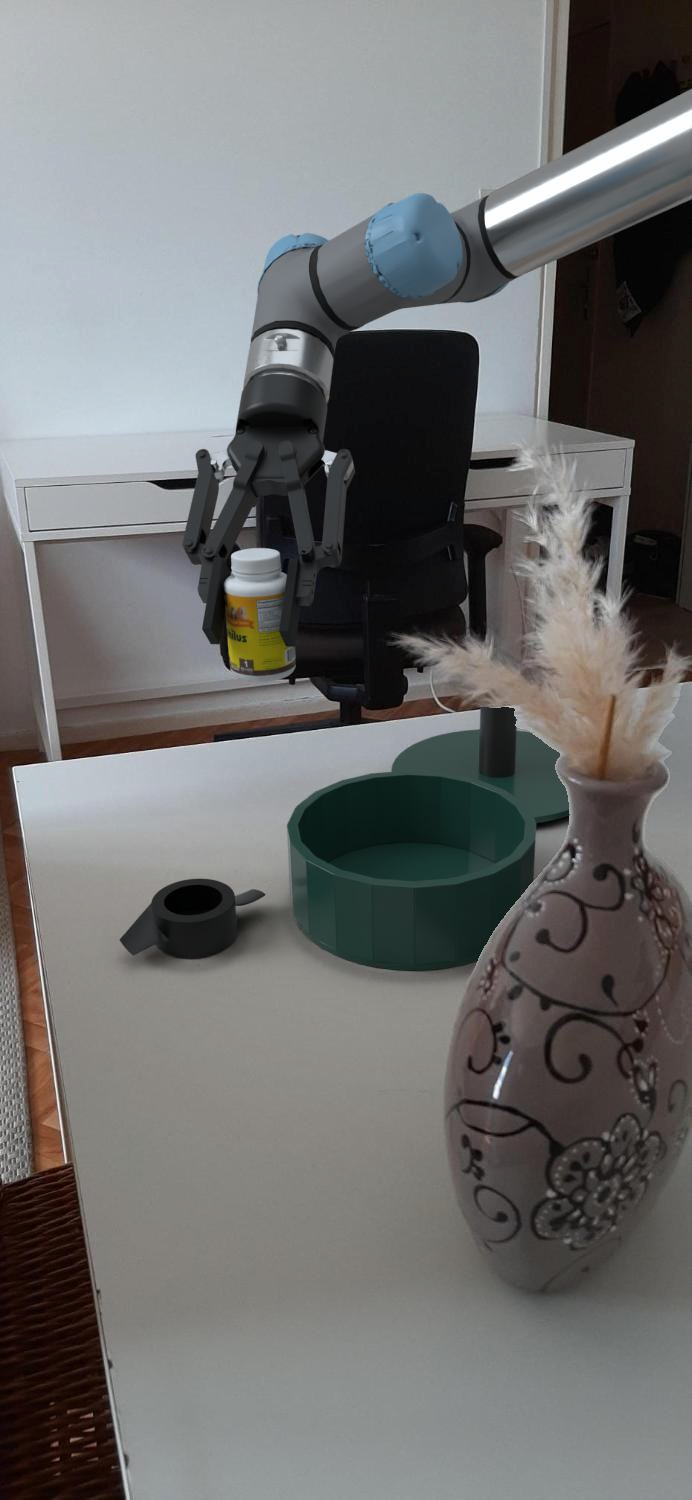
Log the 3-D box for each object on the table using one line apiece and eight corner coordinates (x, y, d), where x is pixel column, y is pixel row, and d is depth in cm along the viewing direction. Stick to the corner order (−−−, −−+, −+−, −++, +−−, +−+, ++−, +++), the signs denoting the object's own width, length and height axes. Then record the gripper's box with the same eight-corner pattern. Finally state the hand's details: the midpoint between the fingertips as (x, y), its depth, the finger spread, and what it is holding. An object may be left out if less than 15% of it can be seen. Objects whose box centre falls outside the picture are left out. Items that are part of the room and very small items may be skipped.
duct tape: (267, 961, 78) (265, 925, 77) (119, 971, 77) (114, 934, 76) (266, 902, 85) (264, 867, 84) (130, 910, 84) (126, 876, 83)
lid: (601, 745, 109) (609, 643, 105) (606, 839, 92) (615, 722, 88) (406, 735, 113) (405, 636, 108) (376, 824, 96) (374, 711, 92)
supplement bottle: (221, 668, 98) (211, 550, 94) (282, 658, 100) (275, 541, 96) (242, 689, 93) (233, 565, 89) (306, 677, 95) (300, 556, 91)
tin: (535, 851, 91) (539, 777, 88) (527, 981, 75) (531, 895, 72) (318, 836, 94) (315, 764, 91) (266, 958, 78) (261, 876, 76)
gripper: (170, 370, 98) (122, 612, 90) (385, 367, 94) (356, 618, 86) (194, 425, 105) (152, 655, 97) (396, 424, 101) (370, 662, 93)
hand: (248, 637), depth 91 cm, fingers closed on supplement bottle, 6 cm apart
